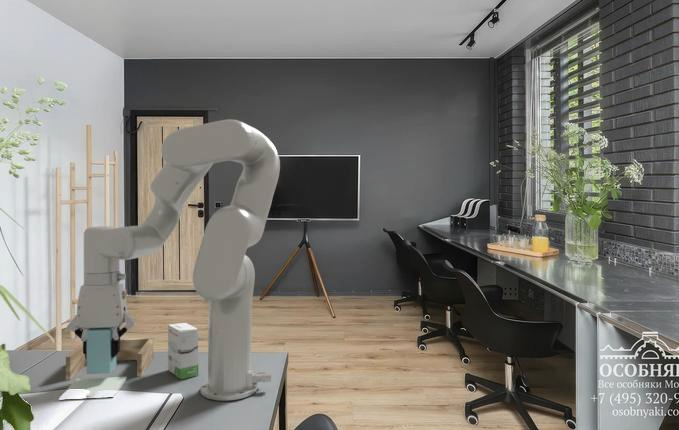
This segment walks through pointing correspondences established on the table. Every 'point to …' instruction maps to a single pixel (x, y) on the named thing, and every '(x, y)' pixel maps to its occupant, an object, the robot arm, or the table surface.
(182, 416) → the table surface
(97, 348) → the teal block
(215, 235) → the robot arm
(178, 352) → the ink box
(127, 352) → the crate
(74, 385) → the felt mat
